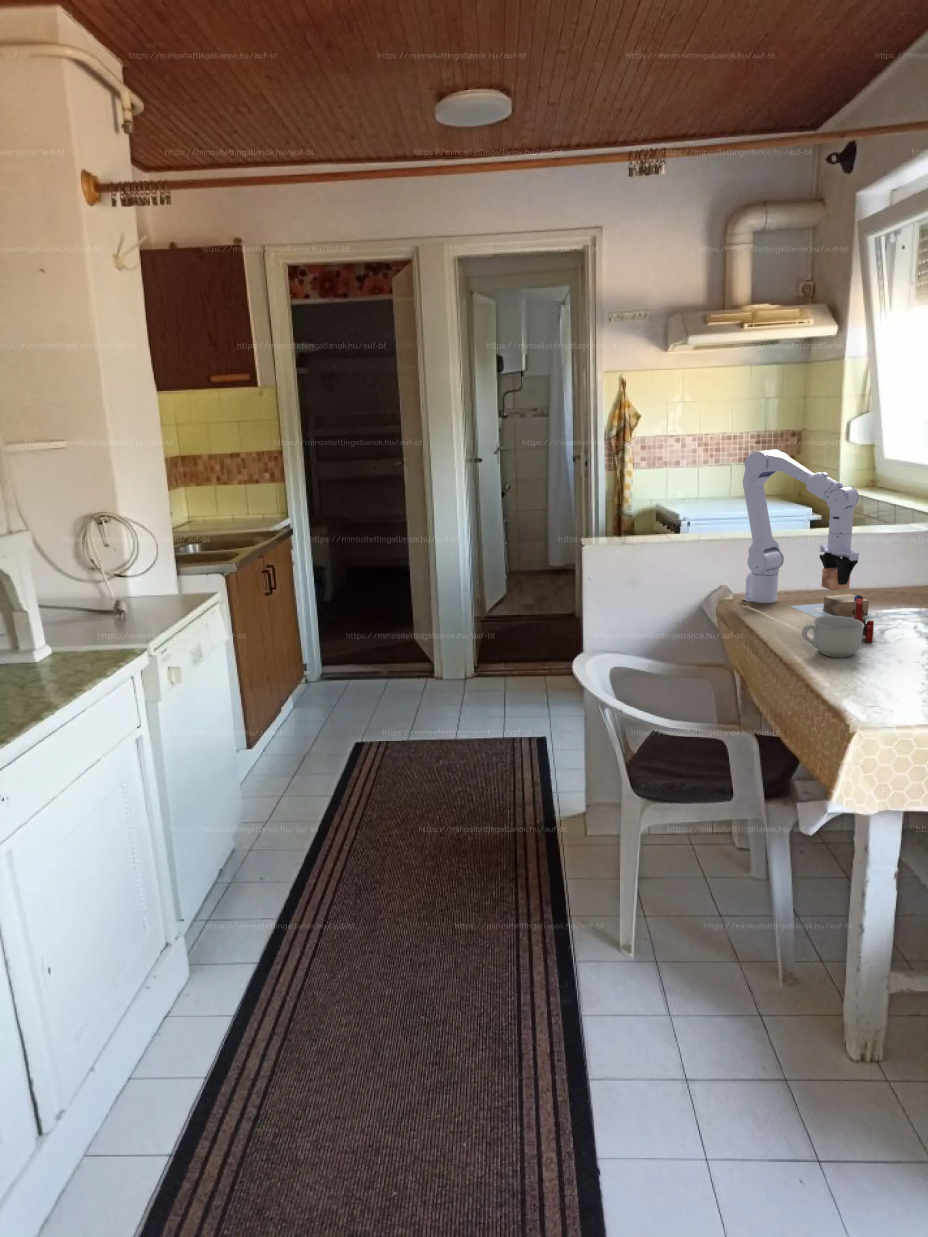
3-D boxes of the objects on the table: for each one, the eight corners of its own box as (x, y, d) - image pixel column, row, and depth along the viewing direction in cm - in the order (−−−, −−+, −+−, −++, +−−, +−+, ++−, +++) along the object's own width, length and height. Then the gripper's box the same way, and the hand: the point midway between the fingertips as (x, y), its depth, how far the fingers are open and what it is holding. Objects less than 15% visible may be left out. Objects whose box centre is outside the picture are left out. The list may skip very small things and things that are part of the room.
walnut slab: (823, 610, 233) (824, 596, 232) (849, 608, 234) (850, 594, 233) (840, 617, 225) (841, 602, 224) (867, 614, 227) (868, 600, 226)
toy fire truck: (872, 632, 213) (876, 593, 211) (872, 646, 203) (876, 604, 200) (842, 630, 216) (846, 591, 214) (840, 643, 205) (844, 602, 203)
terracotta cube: (821, 586, 230) (822, 568, 229) (838, 585, 231) (839, 567, 230) (832, 590, 226) (833, 572, 224) (849, 588, 226) (850, 570, 225)
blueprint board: (789, 608, 239) (789, 605, 239) (840, 604, 241) (840, 601, 241) (826, 624, 222) (826, 621, 222) (881, 619, 224) (881, 616, 224)
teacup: (852, 647, 202) (855, 615, 200) (868, 660, 192) (871, 627, 190) (792, 647, 204) (794, 615, 201) (805, 661, 193) (807, 627, 191)
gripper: (811, 529, 231) (808, 578, 234) (842, 537, 217) (838, 588, 220) (834, 528, 232) (831, 576, 235) (867, 535, 218) (863, 586, 221)
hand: (836, 582), depth 228 cm, fingers closed on terracotta cube, 5 cm apart
